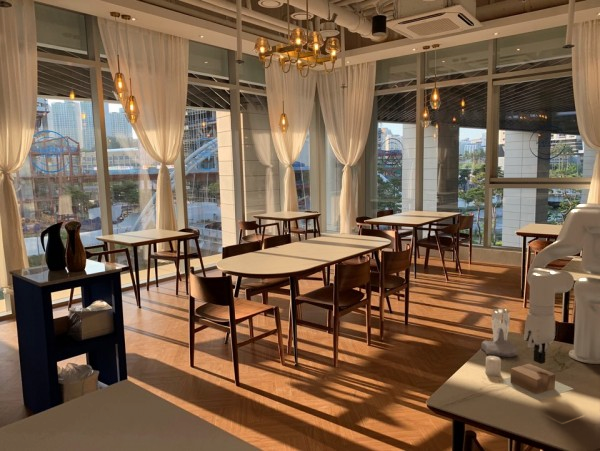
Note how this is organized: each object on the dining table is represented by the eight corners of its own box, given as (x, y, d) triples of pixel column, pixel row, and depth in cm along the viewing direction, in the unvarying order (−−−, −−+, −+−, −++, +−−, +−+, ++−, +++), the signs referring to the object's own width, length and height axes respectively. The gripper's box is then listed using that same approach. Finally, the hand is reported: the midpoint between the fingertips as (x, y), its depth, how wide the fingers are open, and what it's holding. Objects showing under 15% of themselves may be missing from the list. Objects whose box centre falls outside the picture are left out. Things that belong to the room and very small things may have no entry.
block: (529, 363, 165) (510, 368, 161) (555, 374, 156) (536, 379, 152) (528, 377, 166) (510, 382, 162) (554, 388, 157) (536, 394, 153)
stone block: (518, 361, 185) (509, 347, 195) (519, 351, 184) (510, 337, 193) (487, 362, 186) (480, 348, 196) (488, 351, 185) (480, 338, 194)
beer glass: (495, 341, 202) (497, 307, 200) (512, 345, 197) (513, 310, 195) (487, 345, 197) (488, 310, 196) (503, 350, 192) (505, 314, 191)
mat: (531, 372, 171) (531, 371, 171) (574, 389, 156) (574, 388, 156) (498, 381, 164) (498, 380, 163) (539, 401, 149) (539, 400, 149)
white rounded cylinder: (492, 370, 173) (492, 354, 172) (503, 375, 168) (504, 359, 167) (482, 373, 170) (482, 357, 170) (493, 378, 166) (493, 362, 165)
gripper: (546, 303, 164) (544, 354, 166) (516, 309, 158) (514, 362, 160) (566, 309, 158) (564, 361, 160) (536, 315, 151) (533, 370, 153)
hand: (539, 361), depth 160 cm, fingers closed
